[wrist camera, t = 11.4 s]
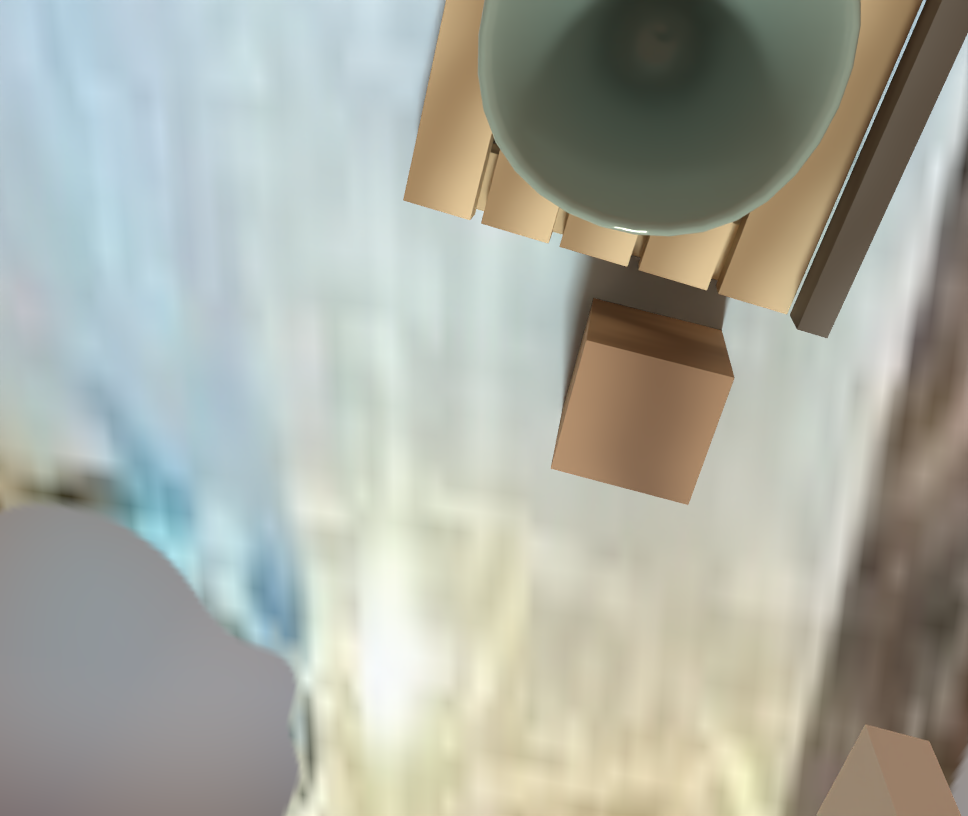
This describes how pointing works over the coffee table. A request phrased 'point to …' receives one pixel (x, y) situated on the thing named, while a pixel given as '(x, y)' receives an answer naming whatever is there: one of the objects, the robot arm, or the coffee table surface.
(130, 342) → the coffee table surface
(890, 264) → the coffee table surface
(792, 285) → the pallet dock
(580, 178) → the cup
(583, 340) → the crate
